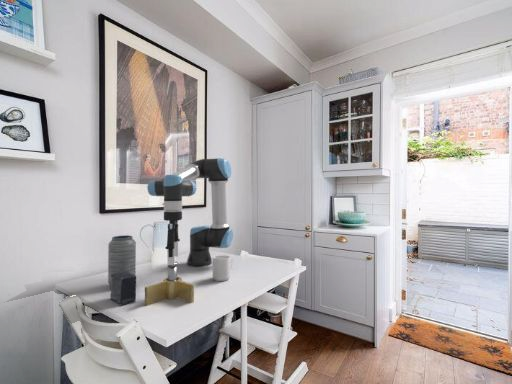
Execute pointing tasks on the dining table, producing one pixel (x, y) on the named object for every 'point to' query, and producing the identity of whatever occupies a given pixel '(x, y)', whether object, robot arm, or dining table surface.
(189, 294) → the hinge
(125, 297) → the small box
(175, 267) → the pin
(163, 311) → the dining table surface
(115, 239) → the vase
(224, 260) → the mug
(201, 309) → the dining table surface
